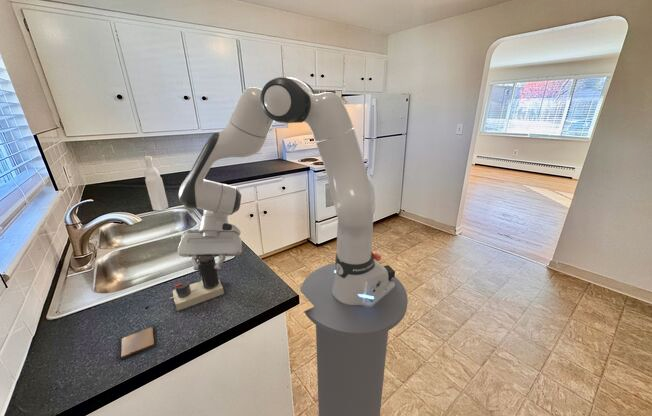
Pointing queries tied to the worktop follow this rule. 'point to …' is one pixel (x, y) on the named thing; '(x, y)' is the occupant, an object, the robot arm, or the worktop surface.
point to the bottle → (150, 166)
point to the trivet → (137, 342)
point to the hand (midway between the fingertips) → (207, 269)
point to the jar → (208, 271)
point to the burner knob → (183, 289)
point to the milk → (156, 192)
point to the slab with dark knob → (197, 295)
